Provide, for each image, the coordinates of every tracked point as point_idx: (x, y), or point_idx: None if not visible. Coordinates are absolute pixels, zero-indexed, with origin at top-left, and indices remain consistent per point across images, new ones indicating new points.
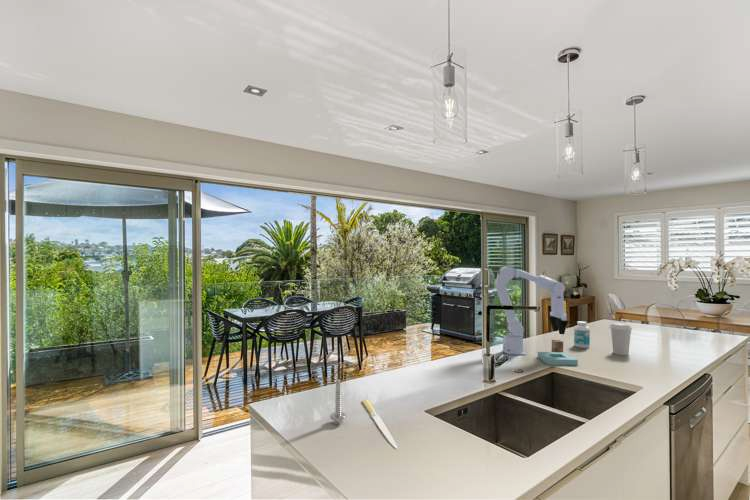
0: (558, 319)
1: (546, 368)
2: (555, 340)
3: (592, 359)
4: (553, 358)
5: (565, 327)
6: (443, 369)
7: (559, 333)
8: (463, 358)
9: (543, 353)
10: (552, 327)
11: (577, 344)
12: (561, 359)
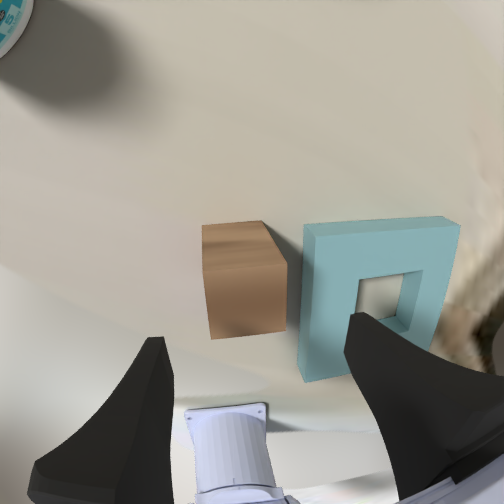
0: (134, 472)
1: (444, 346)
2: (240, 317)
3: (339, 60)
4: (423, 331)
5: (427, 356)
6: (380, 492)
7: (349, 357)
8: (309, 497)
9: (340, 362)
10: (169, 415)
11: (2, 47)
12: (442, 301)
